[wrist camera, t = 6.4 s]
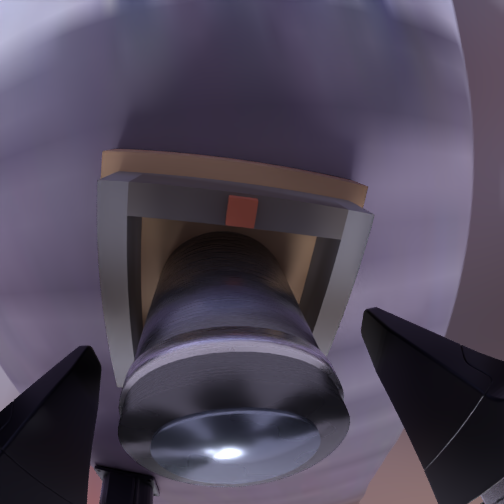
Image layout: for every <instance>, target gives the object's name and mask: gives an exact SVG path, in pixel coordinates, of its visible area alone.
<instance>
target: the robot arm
mask: <svg viewBox="0 0 504 504" xmlns="http://www.w3.org/2000/svg"><path fill="white" fill-rule="evenodd" d="M361 334H362V337H363V340H364V342H365V345H366V347H367V350H368V352H369V355H370V357H371V360H372V362H373V365H374V368H375V370H376V372H377V374H378V376H379V378H380V380H381V382H382V384H383V386H384V388H385V390H386V392H387V394H388V396H389V398H390V400H391V402H392V404H393V406H394V408H395V410H396V412H397V414H398V416H399V418H400V420H401V422H402V424H403V426H404V428H405V430H406V432H407V434H408V436H409V438H410V440H411V442H412V445H413V447H414V449H415V451H416V453H417V455H418V457H419V460H420V462H421V464H422V466H423V469H424V470H425V474H426V476H427V478H428V481H429V483H430V485H431V487H432V490H433V492H434V495H435V497H436V499H437V502H438V504H468V503H470V502H471V501H473V500H474V499H476V498H477V497H479V496H481V497H482V499H483V502H482V503H481V504H504V361H502V360H498V359H495V358H493V357H490V356H487V355H485V354H482V353H479V352H477V351H474V350H472V349H470V348H468V347H465V346H463V345H460V344H459V343H456V342H454V341H452V340H450V339H447V338H445V337H443V336H441V335H438V334H436V333H434V332H431V331H429V330H427V329H425V328H422V327H420V326H418V325H416V324H413V323H411V322H409V321H407V320H404V319H402V318H400V317H398V316H395V315H393V314H391V313H389V312H386V311H384V310H382V309H380V308H377V307H374V308H369V309H366V310H365V311H364V314H363V320H362V327H361ZM100 379H101V364H100V362H99V360H98V358H97V356H96V354H95V352H94V350H93V348H92V347H91V346H79V347H78V348H76V349H75V350H74V351H73V352H71V353H70V354H69V355H68V356H66V357H65V358H64V359H63V360H62V361H60V362H59V363H58V364H57V365H55V366H54V367H53V368H52V369H51V370H49V371H48V372H47V373H46V374H44V375H43V376H42V377H41V378H40V379H38V380H37V381H36V382H35V383H34V384H32V385H31V386H30V387H29V388H28V389H26V390H25V391H24V392H23V393H22V394H21V395H19V396H18V397H17V398H16V399H15V400H14V402H11V403H10V404H9V405H8V406H7V407H6V408H4V409H3V410H2V411H1V412H0V504H87V492H88V478H89V468H90V459H91V450H92V443H93V436H94V429H95V423H96V417H97V410H98V402H99V390H100ZM94 470H95V471H96V473H97V474H98V475H99V477H100V478H101V480H102V481H103V482H102V488H101V495H100V502H99V504H153V496H159V490H158V487H157V484H156V482H155V479H154V477H151V476H145V475H139V474H133V473H128V472H122V471H117V470H113V469H108V468H104V467H100V466H95V467H94Z"/></svg>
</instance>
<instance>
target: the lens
mask: <svg viewBox="0 0 504 504" xmlns="http://www.w3.org/2000/svg"><path fill="white" fill-rule="evenodd" d="M119 412H120V421H119V426H118V437H119V441H120V443H121V445H122V447H123V449H124V450H125V451H126V452H127V454H128V455H129V456H130V457H131V458H132V459H133V460H135V461H136V462H137V463H139V464H140V465H141V466H143V467H145V468H147V469H148V470H150V471H152V472H154V473H156V474H158V475H161V476H164V477H166V478H169V479H172V480H176V481H179V482H183V483H188V484H193V485H200V486H209V487H241V486H251V485H257V484H263V483H268V482H272V481H276V480H280V479H283V478H286V477H289V476H292V475H294V474H297V473H299V472H301V471H304V470H306V469H308V468H310V467H312V466H313V465H315V464H317V463H318V462H320V461H321V460H323V459H324V458H326V457H327V456H328V455H330V454H331V453H332V452H333V451H334V450H335V449H336V448H337V447H338V446H339V445H340V444H341V442H342V441H343V439H344V438H345V436H346V434H347V432H348V430H349V425H350V416H349V413H348V411H347V408H346V406H345V404H344V394H343V389H342V386H341V384H340V381H339V379H338V377H337V375H336V373H335V371H334V369H333V367H332V364H331V363H330V361H329V360H328V358H327V357H326V356H325V355H324V354H323V353H322V352H321V351H320V349H319V347H318V345H317V343H316V341H315V338H314V336H313V334H312V332H311V330H310V328H309V326H308V323H307V321H306V319H305V317H304V315H303V313H302V311H301V309H300V307H299V304H298V302H297V300H296V298H295V296H294V294H293V292H292V290H291V288H290V286H289V284H288V281H287V279H286V277H285V275H284V273H283V271H282V269H281V267H280V265H279V263H278V261H277V259H276V258H275V256H274V255H273V254H272V253H271V251H270V250H269V249H268V248H267V247H265V246H264V245H263V244H262V243H260V242H259V241H257V240H256V239H254V238H251V237H249V236H247V235H244V234H241V233H236V232H231V231H215V232H208V233H204V234H201V235H198V236H195V237H193V238H191V239H189V240H187V241H185V242H184V243H182V244H181V245H180V246H179V247H178V248H176V249H175V250H174V251H173V253H172V254H171V255H170V256H169V258H168V259H167V261H166V262H165V265H164V267H163V269H162V272H161V275H160V278H159V281H158V284H157V287H156V290H155V293H154V296H153V299H152V302H151V305H150V308H149V312H148V315H147V318H146V321H145V325H144V328H143V331H142V335H141V338H140V342H139V345H138V349H137V352H136V356H135V360H134V362H133V364H132V365H131V367H130V369H129V370H128V372H127V375H126V378H125V381H124V384H123V388H122V392H121V396H120V400H119Z"/></svg>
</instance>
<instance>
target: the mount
mask: <svg viewBox="0 0 504 504" xmlns="http://www.w3.org/2000/svg"><path fill="white" fill-rule="evenodd" d="M367 189H368V186H365V185H363V184H360V183H358V182H355V181H352V180H349V179H344V178H340V177H335V176H331V175H326V174H321V173H316V172H311V171H306V170H301V169H295V168H290V167H284V166H278V165H272V164H266V163H260V162H253V161H247V160H240V159H232V158H224V157H216V156H208V155H198V154H188V153H178V152H165V151H151V150H134V149H112V150H106V151H103V152H102V166H101V179H99V180H98V181H97V244H98V263H99V276H100V287H101V297H102V305H103V313H104V320H105V327H106V333H107V340H108V345H109V351H110V356H111V361H112V366H113V371H114V375H115V380H116V384H117V387H121V388H123V384H124V381H125V378H126V375H127V372H128V370H129V369H130V367H131V365H132V364H133V362H134V360H135V356H136V352H137V349H138V345H139V342H140V338H141V335H142V331H143V328H144V325H145V321H146V318H147V315H148V312H149V308H150V305H151V302H152V299H153V296H154V293H155V290H156V287H157V284H158V281H159V278H160V275H161V272H162V269H163V267H164V265H165V262H166V261H167V259H168V258H169V256H170V255H171V254H172V253H173V251H174V250H175V249H176V248H178V247H179V246H180V245H181V244H182V243H184V242H185V241H187V240H189V239H191V238H193V237H195V236H198V235H201V234H204V233H208V232H215V231H231V232H236V233H241V234H244V235H247V236H249V237H251V238H254V239H256V240H257V241H259V242H260V243H262V244H263V245H264V246H265V247H267V248H268V249H269V250H270V251H271V253H272V254H273V255H274V256H275V258H276V259H277V261H278V263H279V265H280V267H281V269H282V271H283V273H284V275H285V277H286V279H287V281H288V284H289V286H290V288H291V290H292V292H293V294H294V296H295V298H296V300H297V302H298V304H299V307H300V309H301V311H302V313H303V315H304V317H305V319H306V321H307V323H308V326H309V328H310V330H311V332H312V334H313V336H314V338H315V341H316V343H317V345H318V347H319V349H320V351H321V352H322V353H323V354H324V355H325V356H326V357H327V355H328V352H329V350H330V347H331V345H332V342H333V340H334V337H335V335H336V332H337V330H338V327H339V324H340V322H341V319H342V317H343V314H344V311H345V308H346V306H347V303H348V300H349V297H350V294H351V291H352V288H353V285H354V282H355V279H356V276H357V273H358V270H359V267H360V264H361V261H362V257H363V254H364V251H365V247H366V244H367V241H368V237H369V233H370V230H371V226H372V223H373V219H374V214H372V213H370V212H369V211H367V210H365V209H363V206H364V202H365V198H366V193H367Z"/></svg>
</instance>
